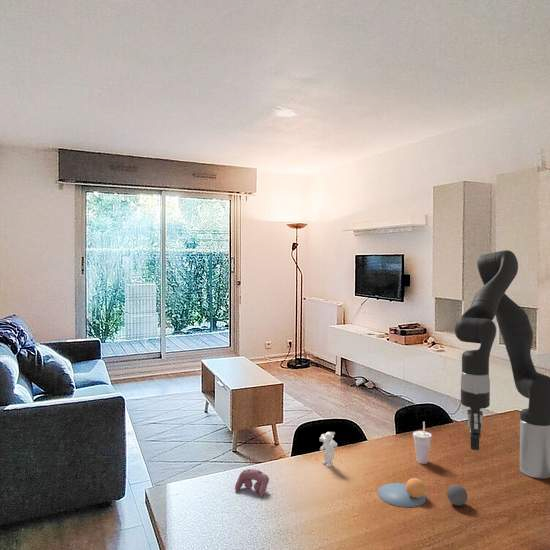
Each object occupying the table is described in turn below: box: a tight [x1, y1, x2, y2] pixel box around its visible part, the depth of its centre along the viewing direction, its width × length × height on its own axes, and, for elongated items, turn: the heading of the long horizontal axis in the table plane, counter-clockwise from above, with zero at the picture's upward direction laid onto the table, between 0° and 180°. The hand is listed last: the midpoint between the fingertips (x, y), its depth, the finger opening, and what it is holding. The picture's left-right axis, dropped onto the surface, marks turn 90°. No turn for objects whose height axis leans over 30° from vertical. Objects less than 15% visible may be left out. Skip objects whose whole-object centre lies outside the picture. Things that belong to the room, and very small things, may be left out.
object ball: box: [405, 477, 426, 498], centre depth 136 cm, size 6×6×6 cm
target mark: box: [377, 482, 427, 508], centre depth 138 cm, size 14×14×1 cm
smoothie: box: [412, 421, 433, 465], centre depth 161 cm, size 6×6×14 cm
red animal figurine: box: [234, 468, 270, 498], centre depth 141 cm, size 10×5×7 cm, turn 66°
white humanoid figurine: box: [319, 431, 338, 468], centre depth 159 cm, size 9×4×12 cm, turn 24°
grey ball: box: [446, 484, 469, 507], centre depth 132 cm, size 6×6×6 cm
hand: (474, 448), depth 130 cm, fingers closed
